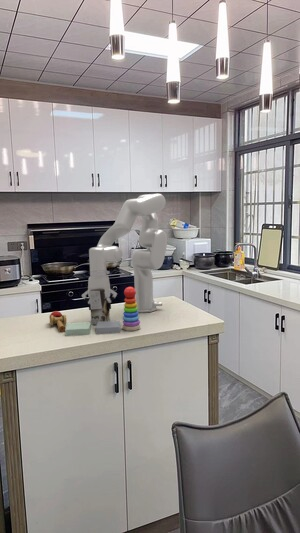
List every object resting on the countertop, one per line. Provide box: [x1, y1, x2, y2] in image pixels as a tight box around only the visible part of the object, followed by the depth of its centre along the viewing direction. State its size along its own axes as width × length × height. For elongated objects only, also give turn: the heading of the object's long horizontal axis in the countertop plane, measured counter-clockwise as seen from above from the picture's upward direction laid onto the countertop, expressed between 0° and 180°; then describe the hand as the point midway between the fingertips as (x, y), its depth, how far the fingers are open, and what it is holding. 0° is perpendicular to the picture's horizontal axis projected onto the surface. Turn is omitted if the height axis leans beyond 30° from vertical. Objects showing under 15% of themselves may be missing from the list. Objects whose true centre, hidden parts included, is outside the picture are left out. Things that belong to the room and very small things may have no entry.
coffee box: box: [89, 289, 111, 326], centre depth 176 cm, size 9×6×16 cm
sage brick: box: [64, 321, 92, 337], centre depth 163 cm, size 10×10×3 cm
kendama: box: [49, 310, 67, 333], centre depth 171 cm, size 8×6×18 cm
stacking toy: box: [122, 286, 141, 332], centre depth 164 cm, size 8×8×19 cm
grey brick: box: [95, 320, 121, 335], centre depth 164 cm, size 10×10×3 cm
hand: (100, 310), depth 176 cm, fingers closed on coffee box, 7 cm apart
